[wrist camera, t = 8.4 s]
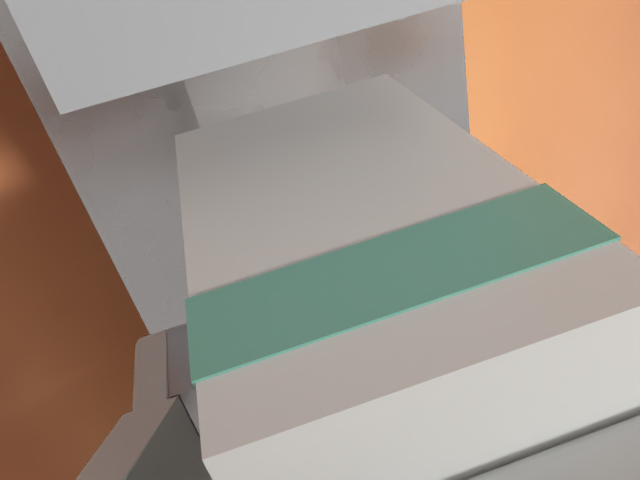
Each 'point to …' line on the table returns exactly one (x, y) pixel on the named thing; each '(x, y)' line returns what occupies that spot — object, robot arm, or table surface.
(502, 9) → the table surface
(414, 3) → the mounted modules
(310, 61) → the rail base
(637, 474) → the robot arm
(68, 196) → the table surface
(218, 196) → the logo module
